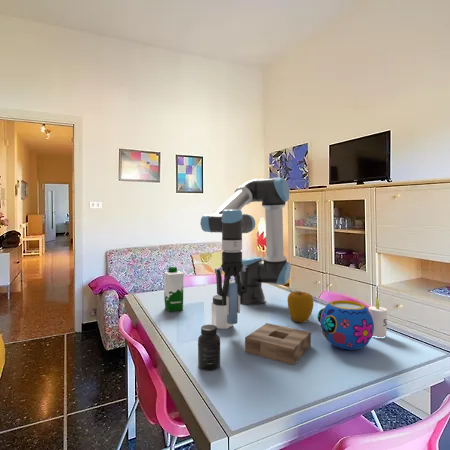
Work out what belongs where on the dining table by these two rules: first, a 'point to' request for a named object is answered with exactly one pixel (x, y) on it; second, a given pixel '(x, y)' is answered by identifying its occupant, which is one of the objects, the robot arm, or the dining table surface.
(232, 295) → the dowel
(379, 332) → the candle
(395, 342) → the dining table surface
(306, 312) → the apple
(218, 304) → the jar
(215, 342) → the supplement bottle
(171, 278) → the milk carton
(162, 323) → the dining table surface
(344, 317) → the ceramic pot
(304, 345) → the socket block
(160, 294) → the dining table surface
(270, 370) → the dining table surface
